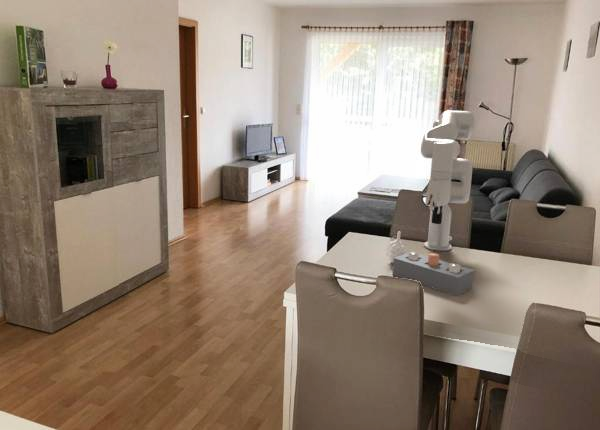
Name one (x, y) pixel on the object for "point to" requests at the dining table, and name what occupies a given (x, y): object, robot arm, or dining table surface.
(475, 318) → the dining table surface
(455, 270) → the clear piece
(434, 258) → the plunger mid
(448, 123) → the robot arm
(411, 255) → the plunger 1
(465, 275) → the grey long block
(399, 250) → the white tall piece
